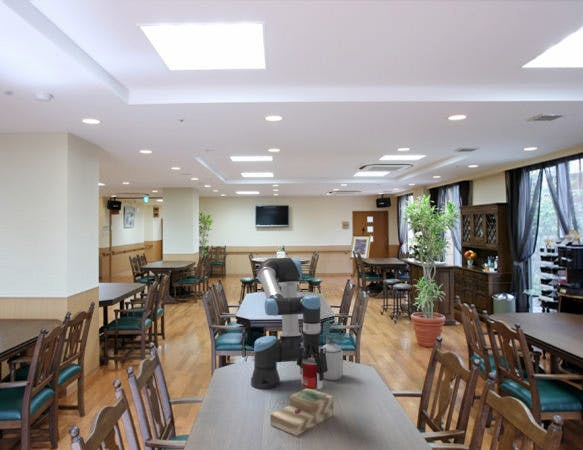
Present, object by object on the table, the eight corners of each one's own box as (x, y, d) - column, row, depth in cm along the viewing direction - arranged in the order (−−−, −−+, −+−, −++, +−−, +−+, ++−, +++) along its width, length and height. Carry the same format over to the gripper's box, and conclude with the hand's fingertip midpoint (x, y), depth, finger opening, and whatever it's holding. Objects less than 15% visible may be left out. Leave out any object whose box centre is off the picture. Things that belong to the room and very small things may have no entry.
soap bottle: (334, 383, 208) (334, 322, 208) (315, 377, 216) (315, 319, 216) (347, 376, 217) (347, 318, 217) (328, 371, 225) (328, 315, 225)
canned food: (319, 390, 168) (319, 363, 168) (300, 388, 170) (300, 362, 170) (322, 383, 175) (322, 358, 176) (304, 382, 177) (304, 356, 177)
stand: (296, 436, 155) (296, 414, 155) (270, 424, 164) (270, 403, 164) (333, 414, 172) (333, 395, 172) (308, 405, 182) (308, 386, 182)
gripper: (288, 329, 177) (288, 381, 177) (325, 338, 163) (325, 394, 163) (299, 326, 183) (299, 377, 182) (336, 334, 169) (336, 389, 168)
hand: (311, 385), depth 173 cm, fingers closed on canned food, 8 cm apart
